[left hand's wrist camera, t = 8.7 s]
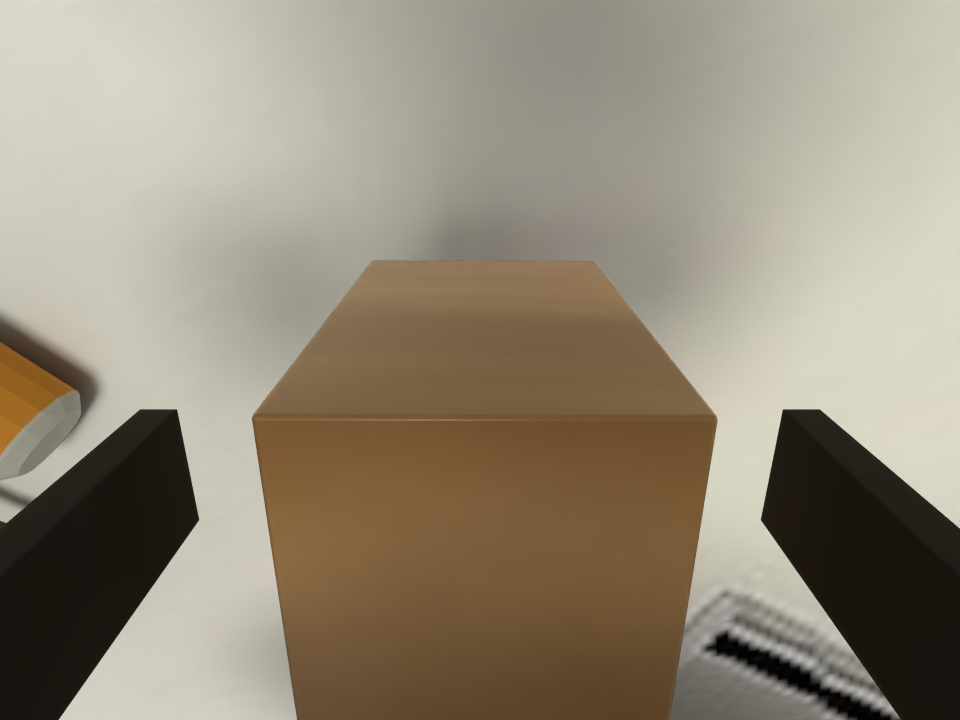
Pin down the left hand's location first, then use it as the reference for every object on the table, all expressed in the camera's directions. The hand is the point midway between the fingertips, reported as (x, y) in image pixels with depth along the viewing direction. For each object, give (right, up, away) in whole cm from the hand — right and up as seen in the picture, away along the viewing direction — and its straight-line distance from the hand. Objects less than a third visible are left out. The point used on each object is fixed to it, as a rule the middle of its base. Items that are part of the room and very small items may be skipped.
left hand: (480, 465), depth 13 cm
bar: (0, -7, +6) cm, 9 cm away
